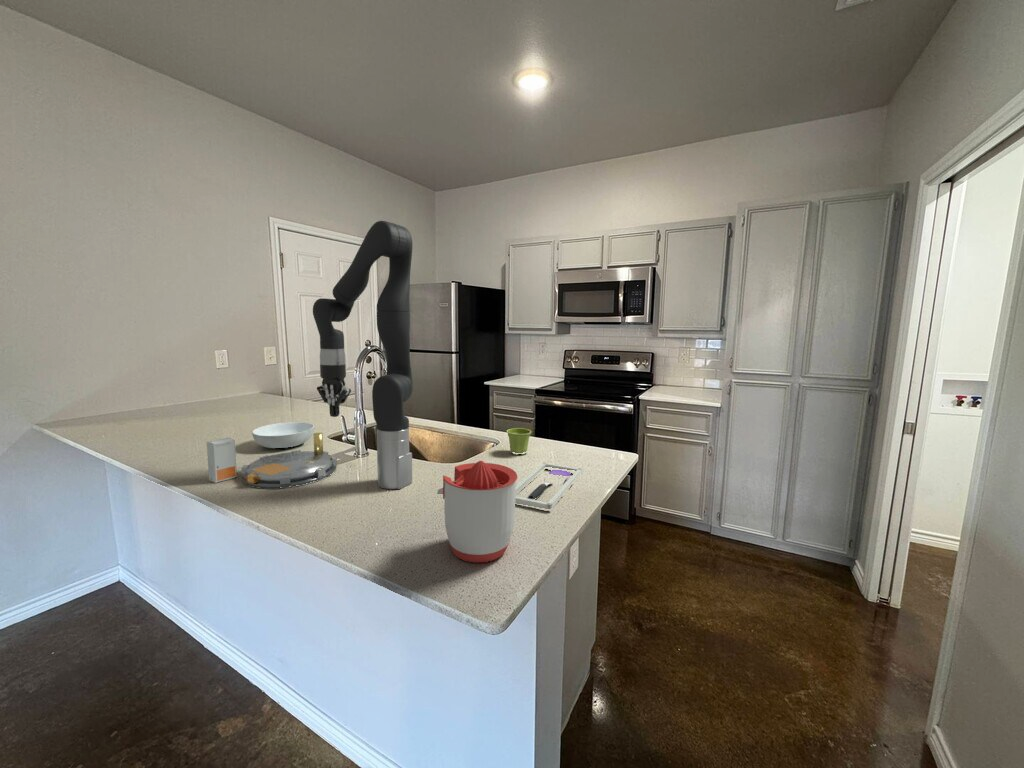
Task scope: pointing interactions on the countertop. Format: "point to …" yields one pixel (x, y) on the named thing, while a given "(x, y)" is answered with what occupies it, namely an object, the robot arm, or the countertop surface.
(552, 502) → the utensil tray
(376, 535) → the countertop surface
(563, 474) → the spatula
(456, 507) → the citrus juicer
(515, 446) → the plant pot
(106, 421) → the countertop surface
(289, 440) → the serving bowl
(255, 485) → the plate
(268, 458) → the sprocket
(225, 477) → the skincare box
